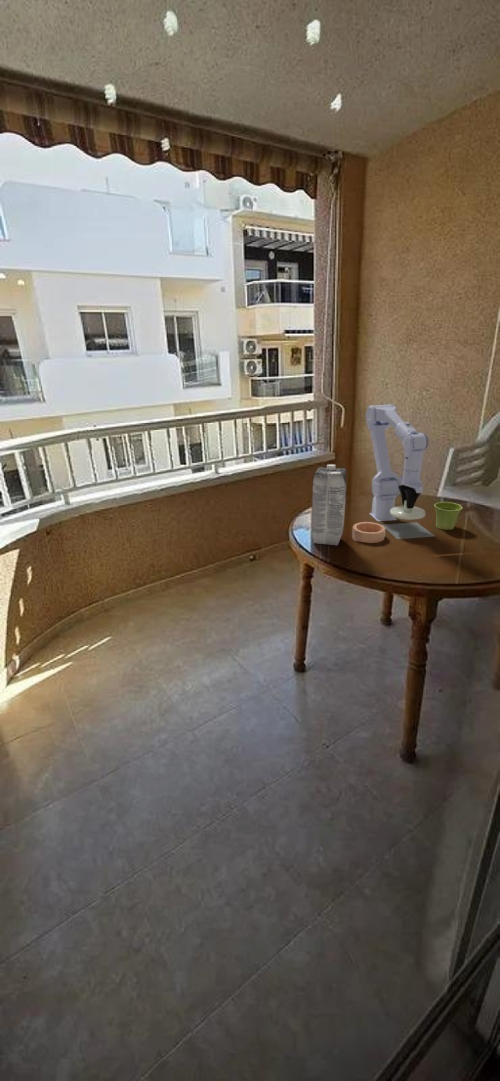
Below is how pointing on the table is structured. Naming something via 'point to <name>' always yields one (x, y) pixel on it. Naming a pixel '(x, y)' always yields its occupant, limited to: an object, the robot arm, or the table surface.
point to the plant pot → (446, 514)
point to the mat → (407, 530)
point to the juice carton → (328, 505)
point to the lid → (407, 512)
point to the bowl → (368, 532)
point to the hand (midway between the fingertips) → (407, 506)
